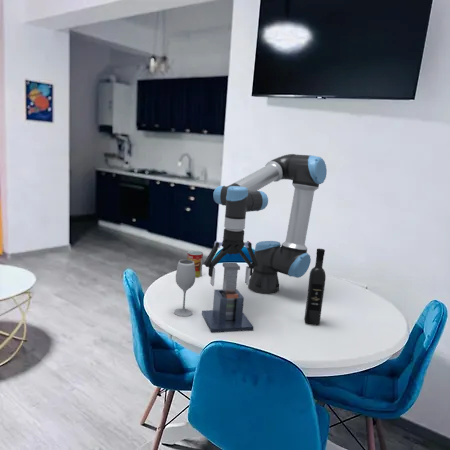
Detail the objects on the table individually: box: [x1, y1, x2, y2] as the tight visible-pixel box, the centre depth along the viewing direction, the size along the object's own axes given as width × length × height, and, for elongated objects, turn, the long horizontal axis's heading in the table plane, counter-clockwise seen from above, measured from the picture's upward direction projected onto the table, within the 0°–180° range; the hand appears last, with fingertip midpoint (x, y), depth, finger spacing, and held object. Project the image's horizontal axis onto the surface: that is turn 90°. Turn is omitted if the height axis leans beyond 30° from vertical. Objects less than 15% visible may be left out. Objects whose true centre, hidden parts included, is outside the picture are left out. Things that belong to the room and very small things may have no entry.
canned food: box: [186, 249, 204, 279], centre depth 204 cm, size 8×8×12 cm
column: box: [222, 262, 241, 320], centre depth 152 cm, size 5×5×21 cm
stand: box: [201, 288, 255, 334], centre depth 153 cm, size 16×16×13 cm
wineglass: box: [173, 259, 196, 317], centre depth 157 cm, size 8×8×21 cm
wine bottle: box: [303, 248, 326, 327], centre depth 157 cm, size 6×6×30 cm
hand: (229, 284), depth 151 cm, fingers open, 13 cm apart
